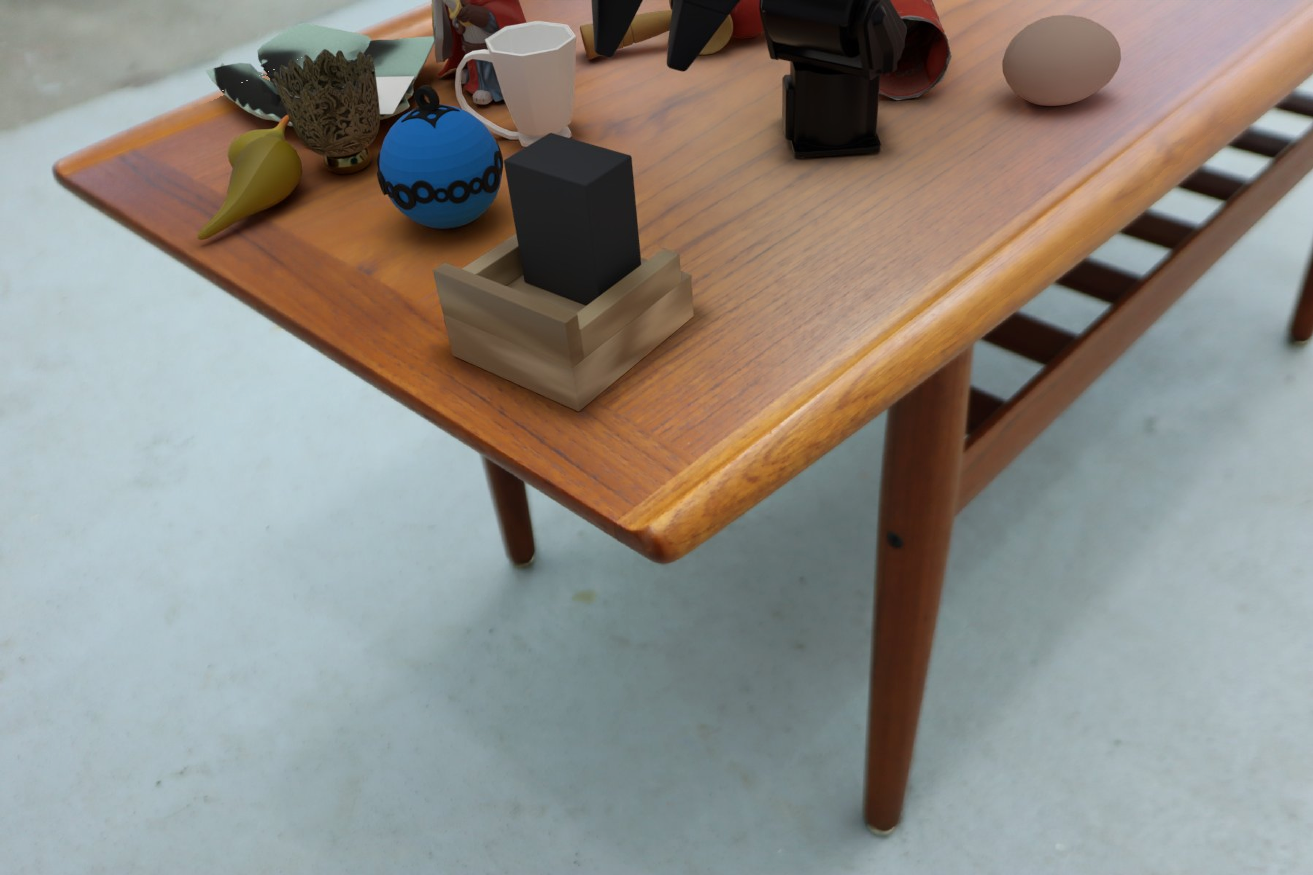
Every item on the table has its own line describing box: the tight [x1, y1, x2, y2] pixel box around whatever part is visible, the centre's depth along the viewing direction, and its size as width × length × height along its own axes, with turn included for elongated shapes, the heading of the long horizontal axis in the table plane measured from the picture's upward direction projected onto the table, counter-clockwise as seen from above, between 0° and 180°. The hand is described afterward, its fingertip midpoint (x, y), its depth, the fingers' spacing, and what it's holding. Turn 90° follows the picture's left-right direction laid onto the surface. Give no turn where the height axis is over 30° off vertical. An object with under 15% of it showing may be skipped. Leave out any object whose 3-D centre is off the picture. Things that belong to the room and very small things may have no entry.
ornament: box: [376, 84, 504, 230], centre depth 75 cm, size 9×9×10 cm
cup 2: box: [454, 20, 577, 148], centre depth 85 cm, size 7×10×8 cm
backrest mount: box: [432, 233, 695, 413], centre depth 64 cm, size 11×10×6 cm
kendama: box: [579, 0, 764, 60], centre depth 99 cm, size 8×6×18 cm
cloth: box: [205, 21, 435, 127], centre depth 97 cm, size 20×22×2 cm
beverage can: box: [879, 0, 953, 101], centre depth 91 cm, size 7×12×7 cm, turn 176°
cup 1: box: [272, 49, 381, 175], centre depth 83 cm, size 8×7×8 cm
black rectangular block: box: [503, 133, 642, 306], centre depth 63 cm, size 4×6×8 cm, turn 53°
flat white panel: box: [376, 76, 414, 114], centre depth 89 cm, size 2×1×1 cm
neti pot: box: [197, 115, 303, 241], centre depth 82 cm, size 4×15×6 cm
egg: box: [1001, 14, 1122, 107], centre depth 84 cm, size 7×7×9 cm
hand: (637, 62), depth 62 cm, fingers open, 9 cm apart
